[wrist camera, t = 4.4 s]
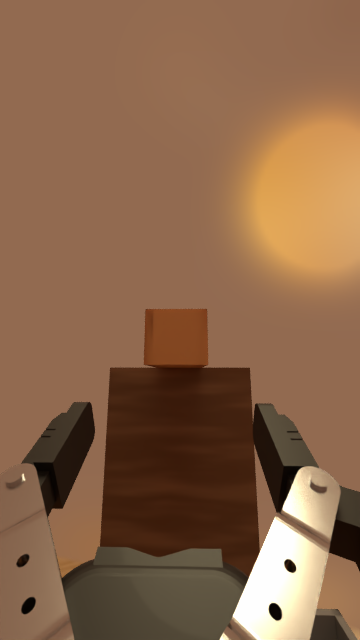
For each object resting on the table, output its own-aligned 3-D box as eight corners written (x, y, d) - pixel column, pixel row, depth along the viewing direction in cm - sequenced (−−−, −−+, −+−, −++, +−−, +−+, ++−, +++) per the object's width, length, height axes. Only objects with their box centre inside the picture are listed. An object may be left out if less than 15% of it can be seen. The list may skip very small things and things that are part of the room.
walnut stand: (273, 808, 19) (249, 367, 26) (85, 800, 19) (110, 367, 26) (237, 627, 33) (227, 370, 39) (127, 624, 33) (136, 370, 40)
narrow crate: (208, 364, 18) (207, 309, 19) (143, 364, 18) (145, 309, 19) (197, 369, 36) (197, 340, 36) (165, 369, 36) (165, 340, 37)
